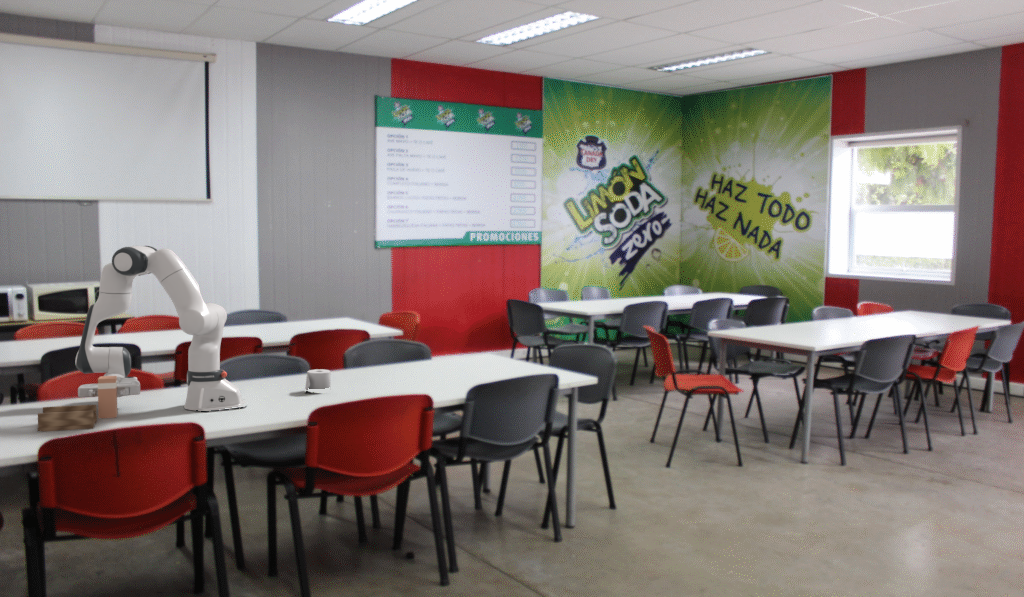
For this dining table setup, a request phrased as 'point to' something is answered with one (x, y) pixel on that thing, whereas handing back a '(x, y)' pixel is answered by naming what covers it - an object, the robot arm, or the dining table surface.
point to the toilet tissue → (318, 379)
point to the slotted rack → (67, 418)
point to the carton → (107, 396)
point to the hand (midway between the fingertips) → (107, 394)
